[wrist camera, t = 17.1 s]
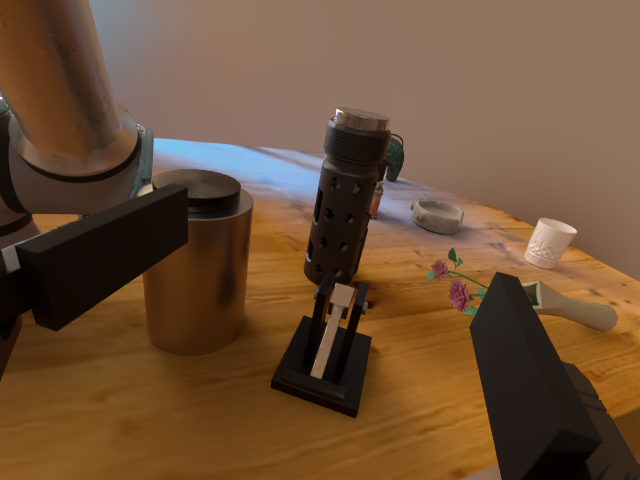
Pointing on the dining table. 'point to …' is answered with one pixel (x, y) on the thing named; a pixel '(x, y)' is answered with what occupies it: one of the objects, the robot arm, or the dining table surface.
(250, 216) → the metal tumbler
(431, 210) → the dish
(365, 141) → the muzzle brake
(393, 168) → the ceramic cat
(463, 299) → the flower vase
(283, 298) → the dining table surface
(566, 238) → the white cup
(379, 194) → the lighter
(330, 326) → the switch lever
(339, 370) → the switch base
